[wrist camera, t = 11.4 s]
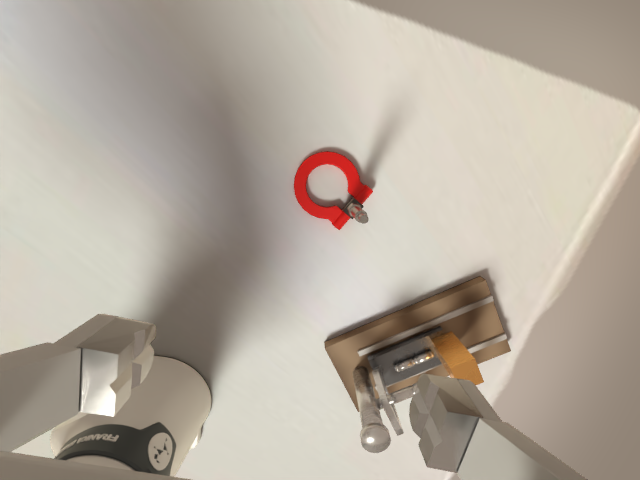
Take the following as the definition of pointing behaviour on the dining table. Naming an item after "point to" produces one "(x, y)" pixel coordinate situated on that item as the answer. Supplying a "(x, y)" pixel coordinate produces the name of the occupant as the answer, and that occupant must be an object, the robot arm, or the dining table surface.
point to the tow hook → (334, 212)
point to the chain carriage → (420, 364)
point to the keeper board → (439, 310)
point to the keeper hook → (375, 410)
